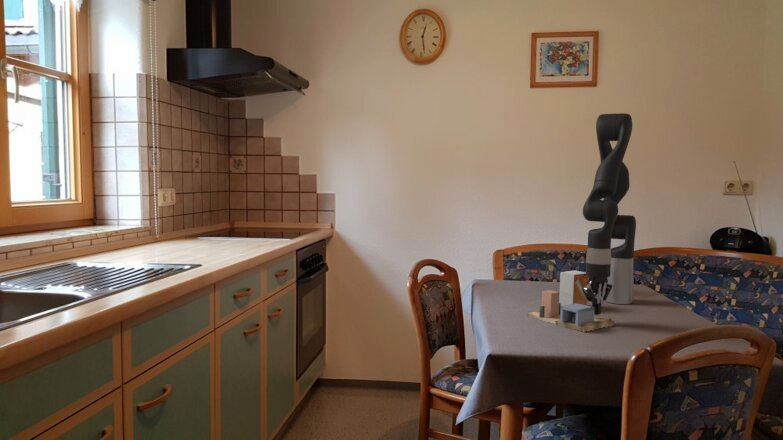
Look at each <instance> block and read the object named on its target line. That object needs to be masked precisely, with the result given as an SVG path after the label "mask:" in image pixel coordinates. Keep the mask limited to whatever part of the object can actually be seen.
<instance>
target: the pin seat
mask: <svg viewBox="0 0 783 440" xmlns="http://www.w3.org/2000/svg"><path fill="white" fill-rule="evenodd" d="M560 312H561V304H560V303H559V316H555V317H548V316H544V314H545V306H541V305H539V310H537V311H532V312H527V313H526V316H527V317H529V318H533V319H536V320H540V321H543V322H545V323H546V322H547V323H551V324H553V325H558V320H560Z"/></svg>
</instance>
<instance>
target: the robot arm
mask: <svg viewBox="0 0 783 440" xmlns="http://www.w3.org/2000/svg"><path fill="white" fill-rule="evenodd" d="M595 122H596V123H595V131H596V139H597V144H598V151H599V157H600V159H599V160H600V163H599V165H598V167H597V169H596V172H595V176H594V179H593V180H594V181H593V186H592V189H591V191H590V193H589V194H588V197H587V199H586V201H585V202H584V204H583V207H582V215H583V218H584V219H585V220H586V221H588V222H599V223H603V226H602V227H600V228H599V227H598V228H592V229H590V230H588V233H587V249H586V255H585V256H586V257H585V259H586V261H585V262H586V263H585V272H586V275H587V276H588V281H587V284H588V285H587V286H586V287H583V288H582V290H583V292H584V294H585V296H586V298H587V302H590V303H591V307H595V309H594V316H599V315H601V313H602V304H604V303H603V302H604V301H605V302H607V303H610V304H611V303H612V304H615V305H616V304H617V305H629V304H630V305H631V304H632V302H634V285H635V284H634V256H635V241H636V240H635V239H636V231H637V220H636V217H635V216H634V215H629V214H628V215H627V214H626V215H625V214H619V203H620V202H621V201H622V200H623V198H624V197H626V195H627V193H628V191H630V190H629V189H630V172H629V168H628V167H627V165H626V164H625V163H624V162H623V160H624V157H625V154H626V152H627V149H628V145H629V142H630V140H631V138H632V137H631V136H632V132H633V119H632V115H630V114H629V113H624V112H623V113H622V112H621V113H603V114H602V113H601V114H600V115H598V117H597V118H596V121H595ZM611 142H616V145H615V146H614V148H613V147H612V144H611ZM612 240H624V242H623V243H622V244H621V245H617V246H614V247H612Z"/></svg>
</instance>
